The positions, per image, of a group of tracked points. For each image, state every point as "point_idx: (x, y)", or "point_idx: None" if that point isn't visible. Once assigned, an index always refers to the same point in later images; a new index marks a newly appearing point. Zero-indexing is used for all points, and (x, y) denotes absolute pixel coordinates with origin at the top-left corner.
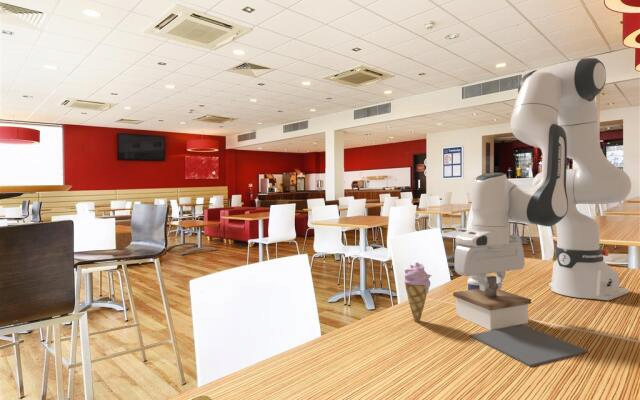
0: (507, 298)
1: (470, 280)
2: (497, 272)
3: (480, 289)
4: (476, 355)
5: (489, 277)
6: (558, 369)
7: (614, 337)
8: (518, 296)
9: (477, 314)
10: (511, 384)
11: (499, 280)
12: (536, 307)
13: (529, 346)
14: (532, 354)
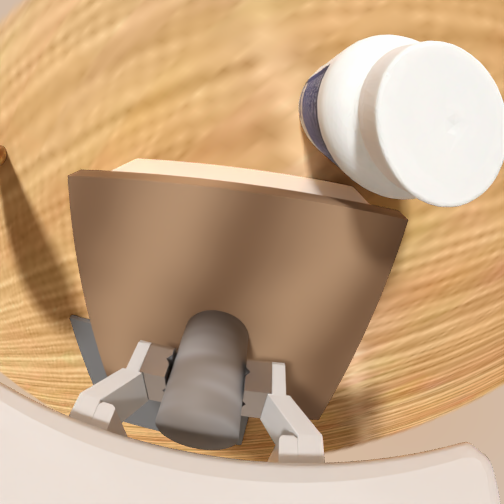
0: None
1: (338, 90)
2: (274, 459)
3: (142, 343)
4: (50, 359)
5: (171, 434)
6: (142, 432)
7: (356, 434)
8: (323, 390)
9: None
10: (62, 407)
11: (265, 423)
12: (479, 275)
13: (155, 405)
14: (135, 413)
